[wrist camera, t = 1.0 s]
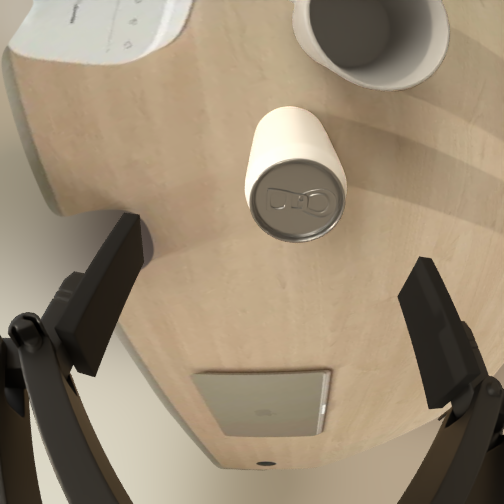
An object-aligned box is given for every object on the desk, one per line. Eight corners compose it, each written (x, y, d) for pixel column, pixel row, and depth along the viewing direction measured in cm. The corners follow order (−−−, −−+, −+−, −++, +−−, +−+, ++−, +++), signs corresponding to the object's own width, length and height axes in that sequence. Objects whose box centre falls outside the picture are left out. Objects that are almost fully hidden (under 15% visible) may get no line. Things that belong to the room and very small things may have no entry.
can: (320, 173, 30) (341, 252, 20) (252, 168, 30) (240, 244, 21) (329, 109, 26) (362, 158, 16) (255, 102, 26) (243, 147, 17)
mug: (406, 15, 19) (473, 14, 11) (362, 88, 24) (408, 121, 16) (280, -53, 17) (282, -100, 8) (236, 25, 22) (211, 19, 13)
